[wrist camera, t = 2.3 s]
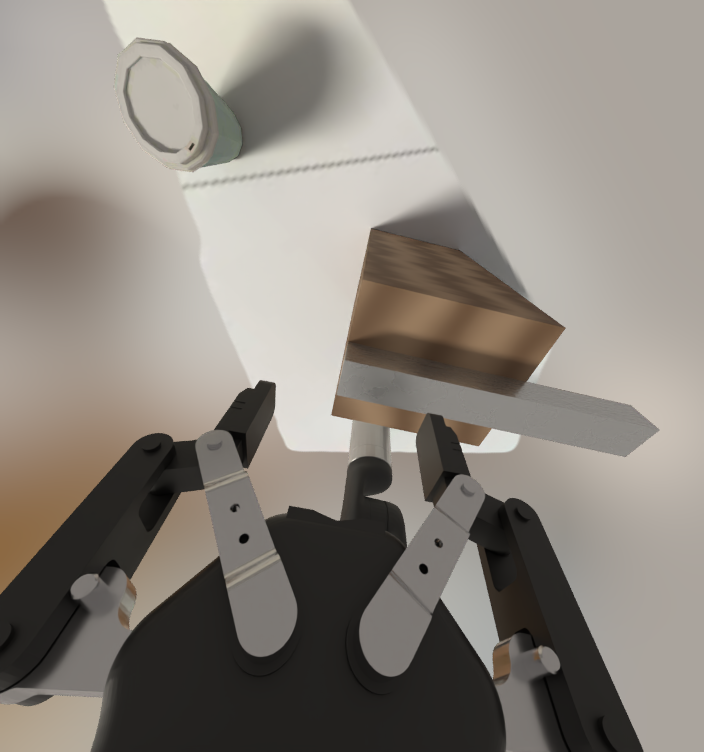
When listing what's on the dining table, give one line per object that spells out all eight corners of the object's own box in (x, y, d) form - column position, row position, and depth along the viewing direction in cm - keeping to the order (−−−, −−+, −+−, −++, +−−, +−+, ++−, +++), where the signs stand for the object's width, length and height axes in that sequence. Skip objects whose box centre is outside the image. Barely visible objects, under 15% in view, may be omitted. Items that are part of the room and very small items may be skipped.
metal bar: (630, 405, 24) (659, 429, 22) (602, 431, 26) (625, 457, 24) (348, 341, 23) (344, 360, 20) (340, 374, 25) (336, 395, 22)
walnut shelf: (460, 250, 47) (565, 328, 21) (430, 323, 55) (478, 446, 29) (371, 228, 46) (362, 279, 20) (353, 305, 54) (331, 415, 28)
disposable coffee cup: (173, 126, 40) (84, 98, 28) (214, 56, 36) (128, -13, 24) (231, 192, 45) (175, 193, 32) (273, 137, 40) (227, 114, 28)
